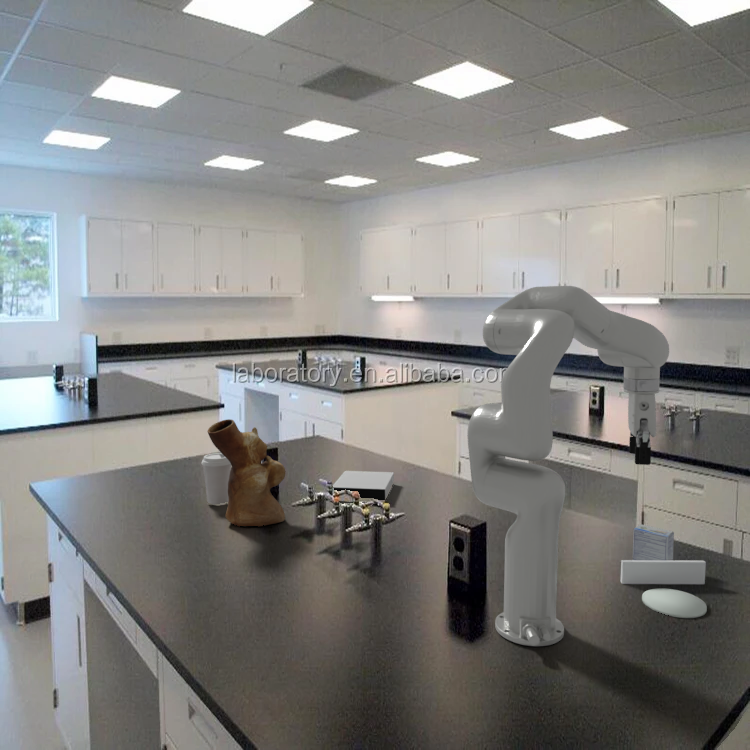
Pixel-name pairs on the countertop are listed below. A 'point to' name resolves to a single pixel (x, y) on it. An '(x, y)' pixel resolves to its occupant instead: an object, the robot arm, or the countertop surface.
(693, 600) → the pad
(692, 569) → the acrylic wall
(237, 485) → the ceramic vessel
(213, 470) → the coffee cup
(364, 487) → the disc drive
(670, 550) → the medicine box
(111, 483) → the countertop surface
